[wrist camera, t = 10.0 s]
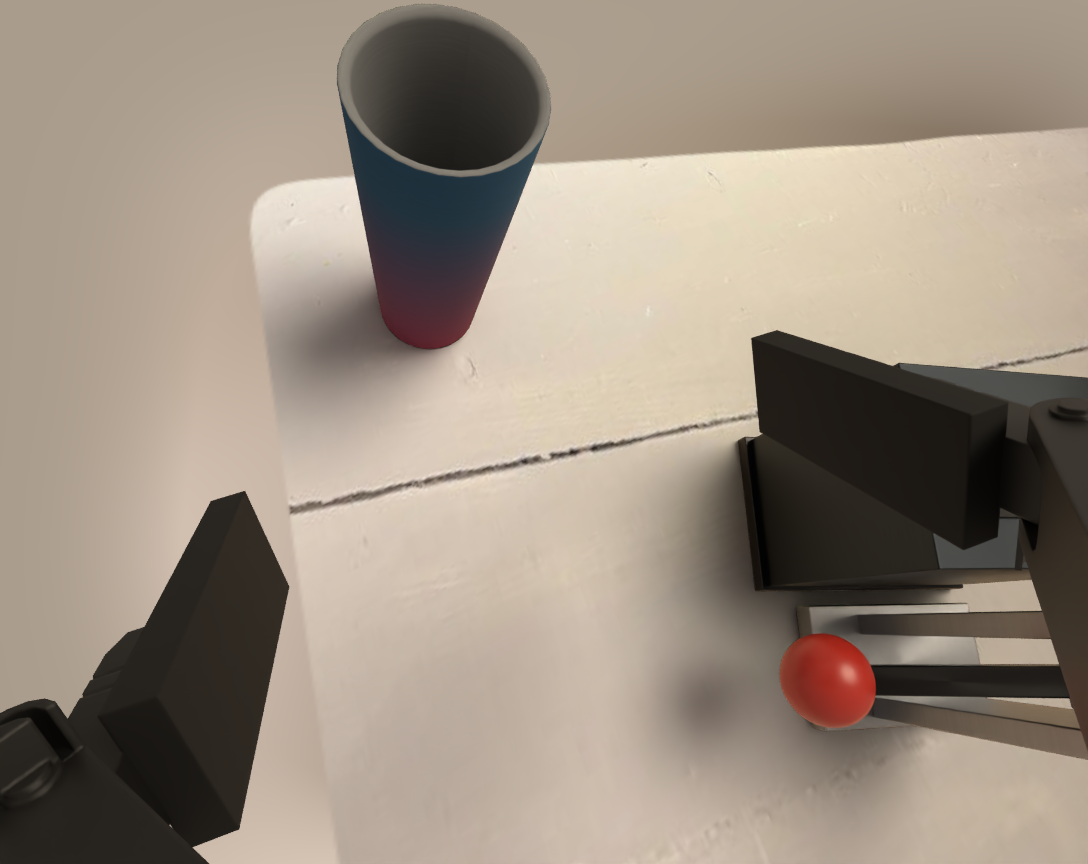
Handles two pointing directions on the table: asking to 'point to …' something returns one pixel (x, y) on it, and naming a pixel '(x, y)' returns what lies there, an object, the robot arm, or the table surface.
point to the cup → (438, 157)
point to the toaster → (872, 513)
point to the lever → (895, 680)
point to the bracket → (946, 640)
